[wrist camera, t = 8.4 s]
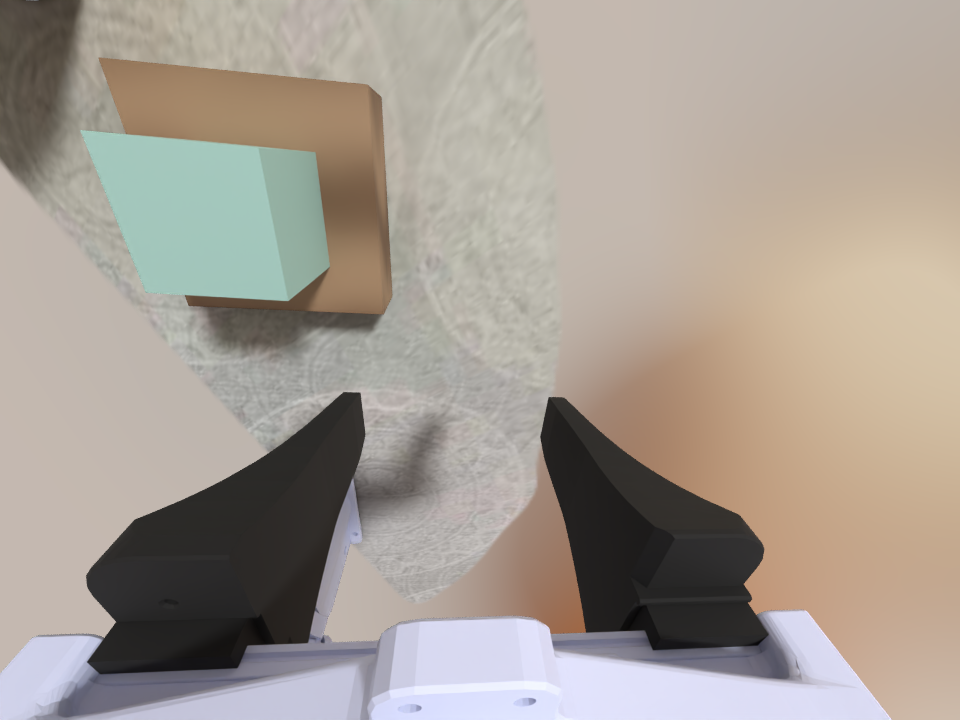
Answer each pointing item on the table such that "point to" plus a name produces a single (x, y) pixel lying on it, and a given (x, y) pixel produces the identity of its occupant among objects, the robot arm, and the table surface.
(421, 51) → the table surface
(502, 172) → the table surface
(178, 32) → the table surface
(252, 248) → the teal cube
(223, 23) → the table surface
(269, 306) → the walnut base
